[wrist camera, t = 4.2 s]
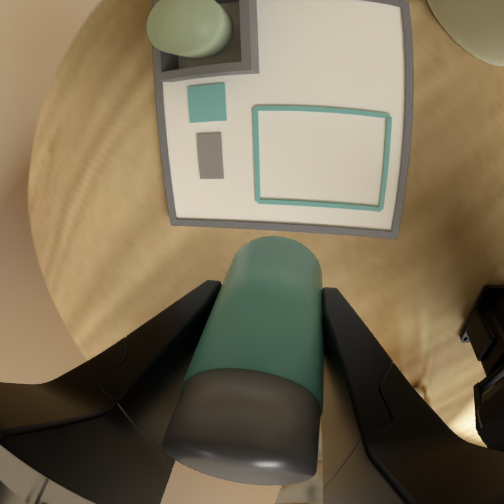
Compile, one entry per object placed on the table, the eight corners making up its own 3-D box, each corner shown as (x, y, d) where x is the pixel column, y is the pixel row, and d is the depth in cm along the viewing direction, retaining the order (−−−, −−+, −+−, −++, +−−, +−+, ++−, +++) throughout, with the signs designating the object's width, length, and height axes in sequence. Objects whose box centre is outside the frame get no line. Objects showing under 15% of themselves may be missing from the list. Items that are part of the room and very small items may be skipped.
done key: (232, -1, 11) (215, -18, 9) (234, 55, 13) (217, 47, 10) (172, 10, 12) (146, -2, 9) (173, 63, 14) (147, 59, 11)
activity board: (405, 4, 11) (420, -9, 8) (394, 234, 19) (405, 255, 16) (157, 11, 14) (134, 2, 11) (175, 221, 22) (157, 239, 19)
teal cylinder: (325, 238, 9) (334, 448, 3) (317, 314, 10) (308, 489, 5) (226, 234, 9) (136, 417, 4) (234, 308, 11) (180, 470, 5)
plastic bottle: (364, 385, 27) (358, 565, 10) (324, 410, 31) (305, 565, 14) (318, 365, 27) (291, 569, 10) (280, 393, 30) (244, 561, 13)
